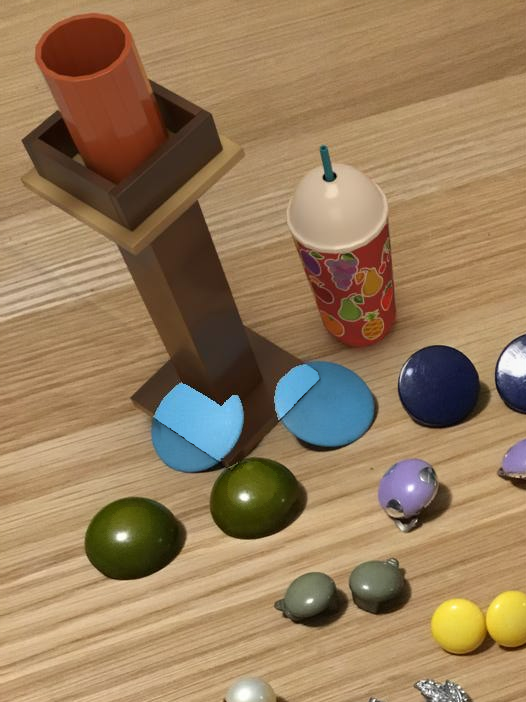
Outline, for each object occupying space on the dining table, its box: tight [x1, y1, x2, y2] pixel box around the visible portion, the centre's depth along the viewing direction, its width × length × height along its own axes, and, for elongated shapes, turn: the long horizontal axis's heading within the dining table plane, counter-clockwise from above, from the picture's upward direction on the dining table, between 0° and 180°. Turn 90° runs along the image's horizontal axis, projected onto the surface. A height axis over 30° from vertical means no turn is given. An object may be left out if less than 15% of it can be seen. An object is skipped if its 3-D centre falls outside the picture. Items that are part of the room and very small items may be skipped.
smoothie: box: [285, 144, 397, 348], centre depth 94 cm, size 8×8×20 cm
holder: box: [19, 78, 307, 469], centre depth 88 cm, size 12×12×29 cm
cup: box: [34, 12, 170, 186], centre depth 73 cm, size 6×6×9 cm
